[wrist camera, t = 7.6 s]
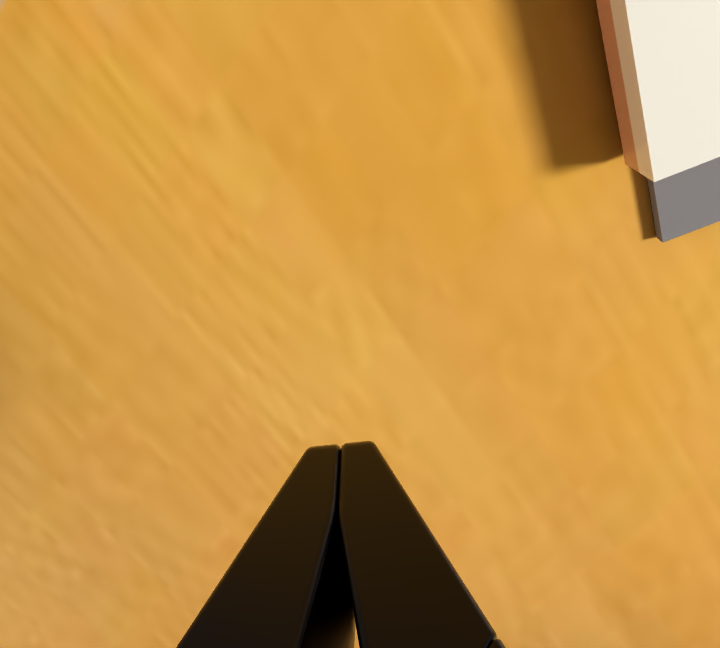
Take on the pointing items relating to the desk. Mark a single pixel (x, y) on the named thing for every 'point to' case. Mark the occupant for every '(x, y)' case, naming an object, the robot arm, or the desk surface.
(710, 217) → the gray pad
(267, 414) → the desk surface
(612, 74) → the tile
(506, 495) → the desk surface
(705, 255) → the desk surface
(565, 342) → the desk surface
